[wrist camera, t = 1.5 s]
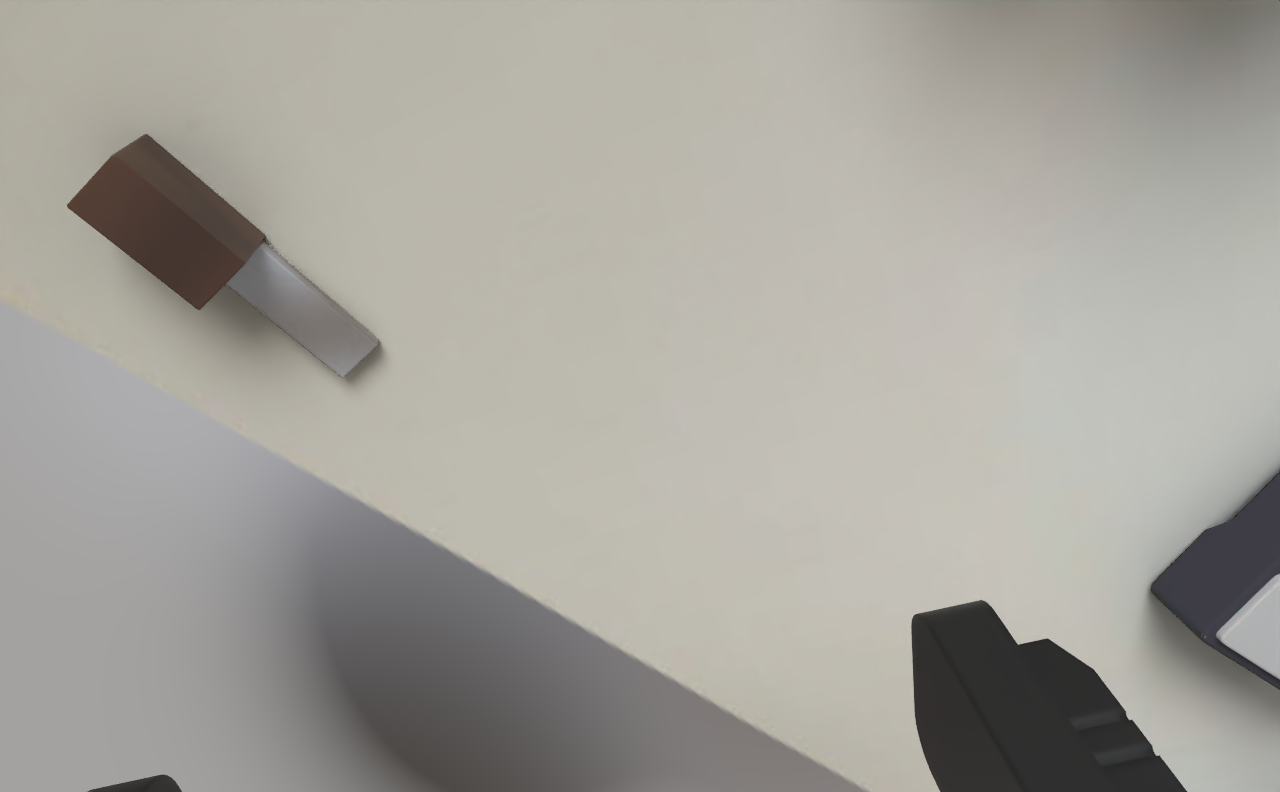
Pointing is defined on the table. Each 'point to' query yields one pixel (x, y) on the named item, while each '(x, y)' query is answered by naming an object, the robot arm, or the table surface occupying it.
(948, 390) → the table surface
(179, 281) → the knife
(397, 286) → the table surface
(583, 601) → the table surface
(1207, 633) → the calculator
